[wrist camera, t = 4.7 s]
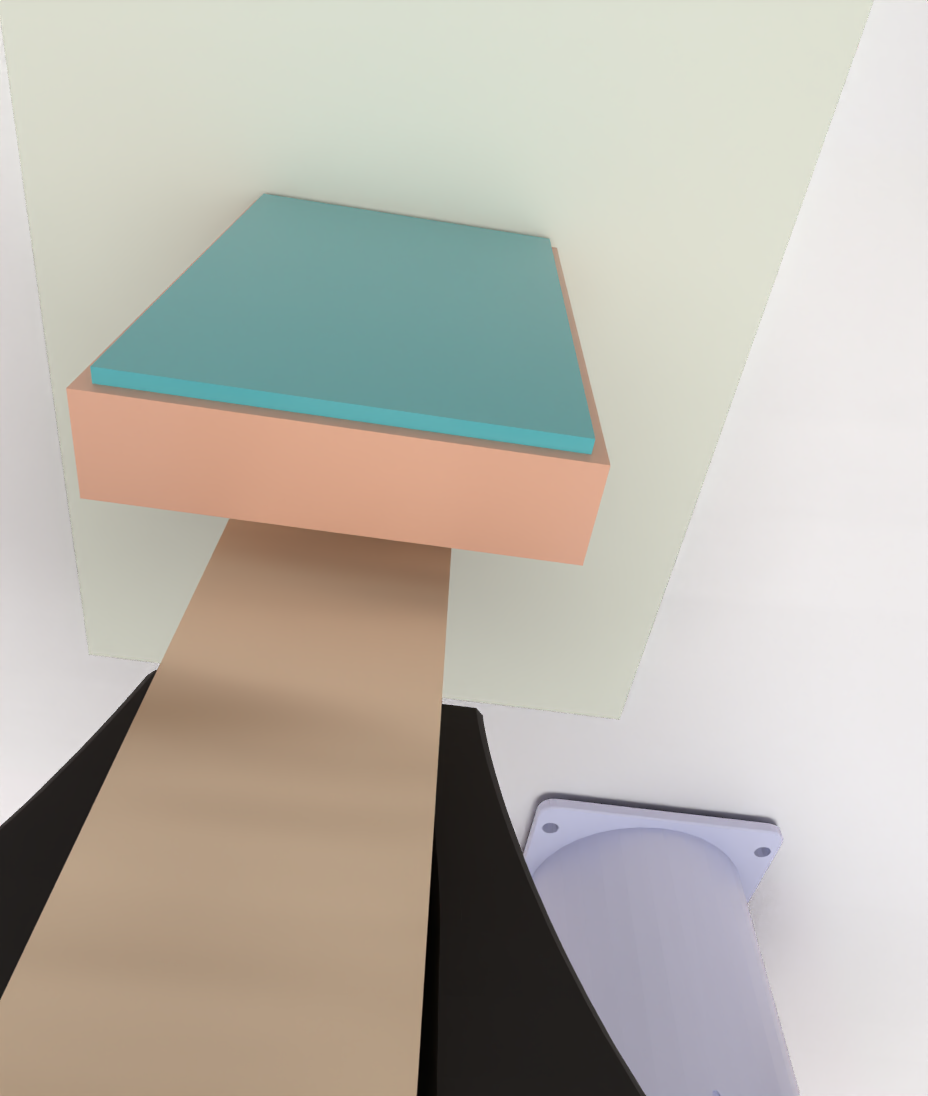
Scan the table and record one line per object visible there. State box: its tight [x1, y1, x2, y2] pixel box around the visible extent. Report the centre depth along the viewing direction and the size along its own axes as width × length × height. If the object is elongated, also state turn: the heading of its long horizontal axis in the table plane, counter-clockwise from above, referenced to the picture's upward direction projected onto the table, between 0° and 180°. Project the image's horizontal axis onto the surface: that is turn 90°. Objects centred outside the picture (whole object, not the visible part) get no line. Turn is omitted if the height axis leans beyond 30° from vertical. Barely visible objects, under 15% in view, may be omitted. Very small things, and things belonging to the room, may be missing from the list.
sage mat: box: [0, 0, 874, 720], centre depth 18 cm, size 22×15×1 cm
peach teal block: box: [66, 194, 611, 566], centre depth 13 cm, size 2×6×9 cm, turn 82°
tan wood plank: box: [0, 518, 451, 1096], centre depth 10 cm, size 5×3×9 cm, turn 172°
